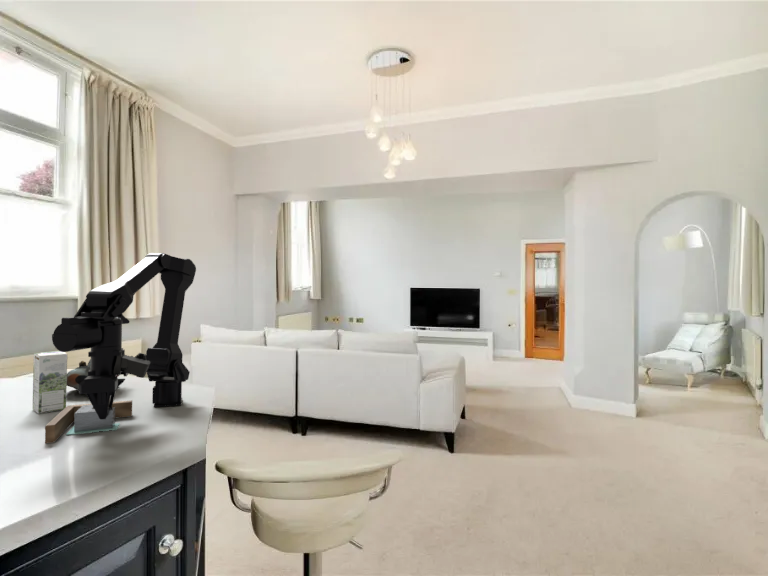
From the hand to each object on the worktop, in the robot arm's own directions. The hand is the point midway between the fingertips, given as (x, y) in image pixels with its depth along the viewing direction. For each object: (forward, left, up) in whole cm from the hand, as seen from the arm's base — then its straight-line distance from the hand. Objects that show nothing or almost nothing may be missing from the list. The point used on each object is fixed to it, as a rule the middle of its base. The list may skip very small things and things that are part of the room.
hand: (105, 416), depth 93 cm
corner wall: (+2, -1, -3) cm, 4 cm away
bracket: (+2, -2, -2) cm, 4 cm away
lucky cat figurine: (+10, -39, -3) cm, 41 cm away
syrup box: (+16, -21, -3) cm, 26 cm away
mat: (+2, -2, -3) cm, 4 cm away
